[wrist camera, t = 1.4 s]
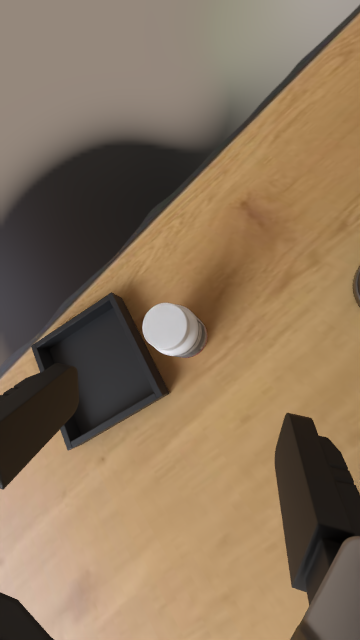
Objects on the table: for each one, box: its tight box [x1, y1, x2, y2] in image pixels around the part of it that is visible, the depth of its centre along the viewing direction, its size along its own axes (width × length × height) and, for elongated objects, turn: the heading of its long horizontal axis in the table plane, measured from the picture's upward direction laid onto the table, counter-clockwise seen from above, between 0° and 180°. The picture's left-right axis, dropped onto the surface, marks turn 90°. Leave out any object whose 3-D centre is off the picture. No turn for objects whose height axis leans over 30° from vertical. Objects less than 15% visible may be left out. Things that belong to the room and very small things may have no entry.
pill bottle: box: [142, 303, 207, 358], centre depth 30 cm, size 6×6×10 cm
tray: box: [31, 293, 170, 450], centre depth 35 cm, size 15×16×3 cm
